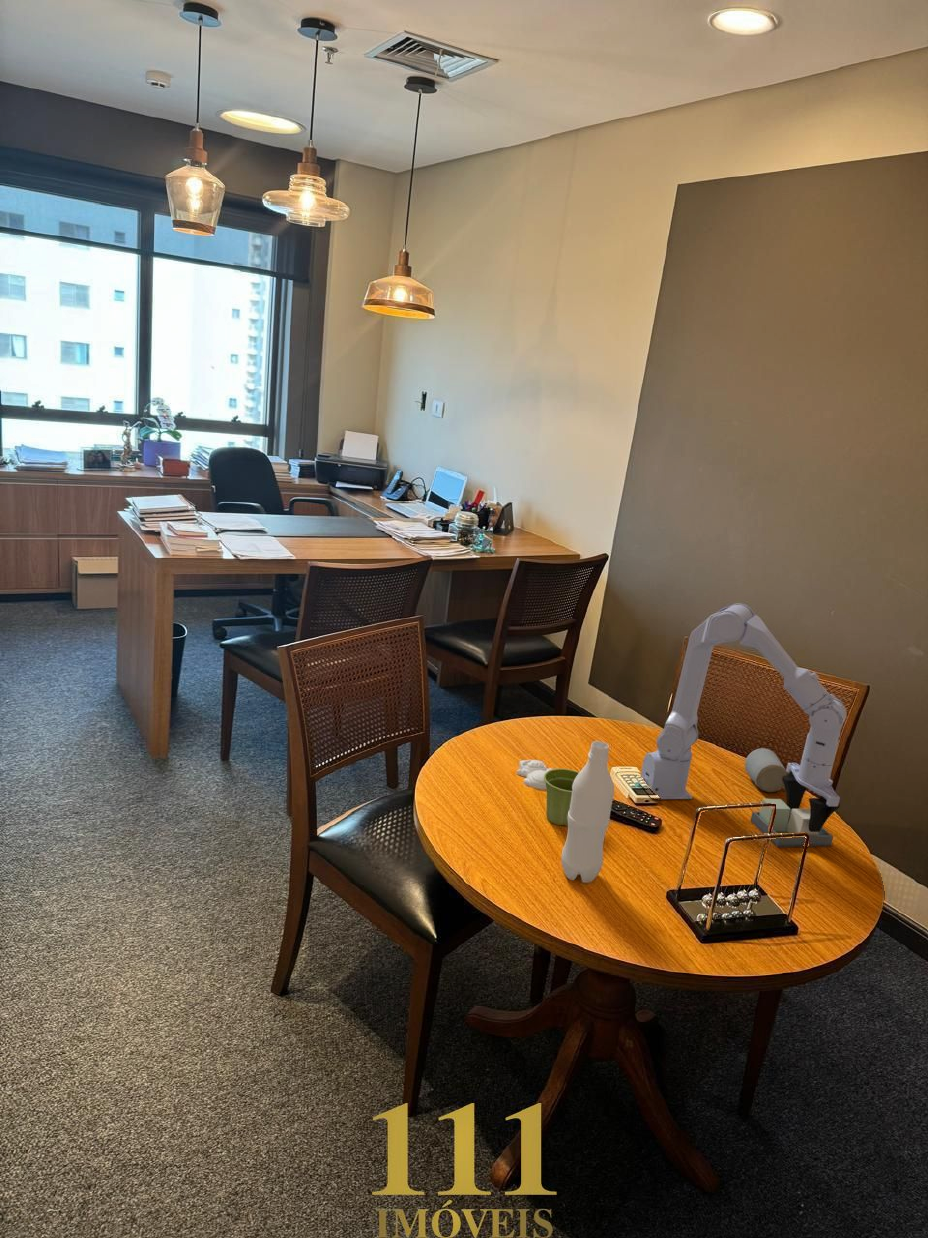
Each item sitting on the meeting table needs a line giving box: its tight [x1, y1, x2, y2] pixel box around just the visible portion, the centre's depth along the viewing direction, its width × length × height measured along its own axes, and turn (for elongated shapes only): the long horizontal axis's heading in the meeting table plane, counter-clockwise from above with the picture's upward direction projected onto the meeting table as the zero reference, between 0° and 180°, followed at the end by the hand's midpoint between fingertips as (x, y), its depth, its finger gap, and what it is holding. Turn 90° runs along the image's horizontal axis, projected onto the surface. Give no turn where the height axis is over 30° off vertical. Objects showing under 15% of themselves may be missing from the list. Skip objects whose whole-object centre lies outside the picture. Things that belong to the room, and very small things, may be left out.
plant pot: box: [544, 768, 580, 827], centre depth 163 cm, size 9×9×9 cm
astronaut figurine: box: [516, 759, 553, 791], centre depth 181 cm, size 9×12×3 cm
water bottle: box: [560, 740, 615, 884], centre depth 142 cm, size 7×7×25 cm
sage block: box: [759, 798, 791, 831], centre depth 168 cm, size 4×4×5 cm
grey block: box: [787, 808, 818, 836], centre depth 166 cm, size 4×4×5 cm
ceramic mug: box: [744, 747, 788, 793], centre depth 187 cm, size 11×8×8 cm
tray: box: [750, 810, 834, 848], centre depth 167 cm, size 12×10×2 cm
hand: (802, 820), depth 166 cm, fingers open, 7 cm apart
